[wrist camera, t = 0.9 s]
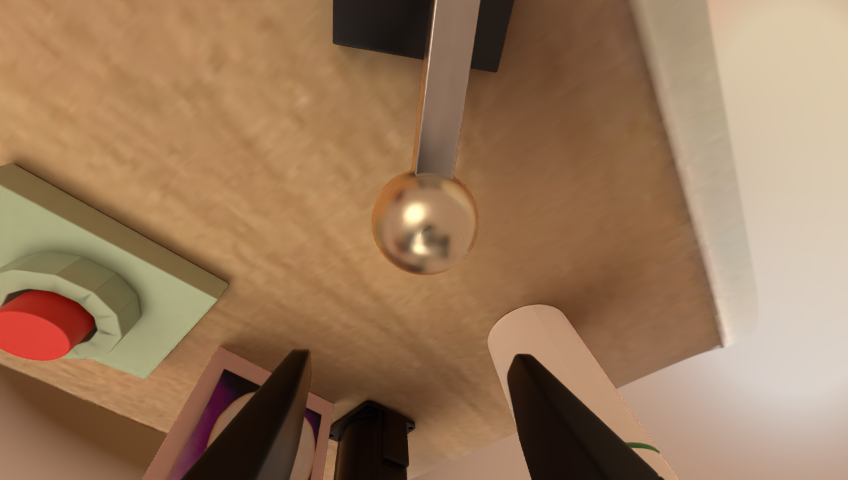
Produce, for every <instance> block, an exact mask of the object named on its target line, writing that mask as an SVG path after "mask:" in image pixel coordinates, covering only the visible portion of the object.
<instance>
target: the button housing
mask: <svg viewBox="0 0 848 480" xmlns="http://www.w3.org/2000/svg"><path fill="white" fill-rule="evenodd" d="M228 285H229V284H228V283H227V282H225V281H223V280H221V279H219V278H218V277H216V276H214V275H212V274H210V273H209V272H207V271H205V270H203V269H201V268H200V267H198V266H196V265H194V264H193V263H191V262H189V261H187V260H185V259H184V258H182V257H180V256H178V255H176V254H175V253H173V252H171V251H169V250H167V249H166V248H164V247H162V246H160V245H158V244H157V243H155V242H153V241H151V240H149V239H148V238H146V237H144V236H142V235H140V234H139V233H137V232H135V231H133V230H131V229H130V228H128V227H126V226H124V225H122V224H121V223H119V222H117V221H115V220H113V219H112V218H110V217H108V216H106V215H105V214H103V213H101V212H99V211H97V210H96V209H94V208H92V207H90V206H88V205H87V204H85V203H83V202H81V201H79V200H78V199H76V198H74V197H72V196H70V195H69V194H67V193H65V192H63V191H61V190H60V189H58V188H56V187H54V186H52V185H51V184H49V183H47V182H45V181H43V180H42V179H40V178H38V177H36V176H34V175H33V174H31V173H29V172H27V171H26V170H24V169H22V168H20V167H18V166H17V165H15V164H12V163H11V164H7V165H4V166H0V308H1V307H2V306H4V305H5V304H7V303H9V302H10V301H12V300H13V299H15V298H16V297H18V296H19V295H21V294H23V293H24V292H27V291H31V290H43V291H51V292H55V293H58V294H60V295H62V296H65V297H67V298H69V299H71V300H74V301H76V302H78V303H79V304H80V305H81V306H82V307H83V308H85V309H86V310H87V311H88V312H89V313H90V314H91V315H92V316H93V317H94V319H95V326H94V328H93V330H92V331H91V332H90V333H89V334H88V335H87V336H86V337H85V338H84V339H82V340H81V341H80V342H79V343H78V344H77V345H76V346H75V347H74V348H73V349H72V350H71V351H70V352H69V353H68V354H66V355H65V356H63V357H61V358H68V359H80V360H81V359H87V358H89V359H91V360H94V361H97V362H99V363H102V364H105V365H107V366H110V367H113V368H115V369H118V370H121V371H123V372H126V373H129V374H131V375H134V376H137V377H139V378H142V379H146V378H147V377H148V376H149V375H150V374H151V373H152V372H153V371H154V369H155V368H156V367H157V366H158V365H159V364H160V363H161V362H162V361H163V360H164V359H165V357H166V356H167V355H168V354H169V353H170V352H171V351H172V350H173V349H174V348H175V347H176V345H177V344H178V343H179V342H180V341H181V340H182V339H183V338H184V337H185V336H186V335H187V333H188V332H189V331H190V330H191V329H192V328H193V327H194V326H195V325H196V324H197V323H198V321H199V320H200V319H201V318H202V317H203V316H204V315H205V314H206V313H207V312H208V311H209V309H210V308H211V307H212V306H213V305H214V304H215V303H216V302H217V301H218V300H219V298H220V297H221V295H222V294H223V292H224V291H225V289H226V288H227V286H228Z"/></svg>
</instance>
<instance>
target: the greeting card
mask: <svg viewBox="0 0 848 480" xmlns="http://www.w3.org/2000/svg"><path fill="white" fill-rule="evenodd" d="M271 374H272V373H271V372H269V371H267V370H265V369H263V368H261V367H259V366H257V365H255V364H253V363H251V362H249V361H247V360H245V359H243V358H241V357H239V356H237V355H235V354H233V353H231V352H229V351H227V350H225V349H223V348H221V347H218V348H217V350H216V352H215V353H214V355H213V357H212V359H211V360H210V362H209V364H208V366H207V367H206V369H205V371H204V372H203V374H202V376H201V378H200V379H199V381H198V383H197V385H196V386H195V388H194V390H193V392H192V393H191V395H190V397H189V399H188V400H187V402H186V404H185V405H184V407H183V409H182V411H181V412H180V414H179V416H178V418H177V419H176V421H175V423H174V425H173V426H172V428H171V430H170V432H169V433H168V435H167V437H166V439H165V440H164V442H163V444H162V445H161V447H160V449H159V451H158V453H157V454H156V456H155V458H154V459H153V461H152V463H151V465H150V466H149V468H148V470H147V472H146V473H145V475H144V477H143V479H142V480H180V479H181V478H182V477H183V476H184V475H185V473H186V472H187V471H188V470H189V469H190V468H191V466H192V465H193V464H194V463H195V462H196V461H197V460H198V458H199V457H200V456H201V455H202V454H203V453H204V451H205V450H206V449H207V448H208V447H209V446H210V444H211V443H212V442H213V441H214V440H215V439H216V438H217V436H218V435H219V434H220V433H221V432H222V431H223V429H224V428H225V427H226V426H227V425H228V424H229V423H230V421H231V420H232V419H233V418H234V417H235V416H236V414H237V413H238V412H239V411H240V410H241V409H242V407H243V406H244V405H245V404H246V403H247V402H248V401H249V399H250V398H251V397H252V396H253V395H254V394H255V392H256V391H257V390H258V389H259V388H260V387H261V386H262V384H263V383H264V382H265V381H266V380H267V379H268V377H269V376H270V375H271ZM333 406H334V404H332V403H330V402H328V401H326V400H324V399H322V398H320V397H318V396H316V395H314V394H312V393H310V392H309V393H308V398H307V404H306V410H305V416H304V421H303V427H302V433H301V438H300V443H299V447H298V451H297V455H296V459H295V462H294V466H293V469H292V473H291V476H290V480H323V474H324V467H325V461H326V454H327V447H328V440H329V433H330V427H331V420H332V413H333Z"/></svg>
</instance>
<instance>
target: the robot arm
mask: <svg viewBox="0 0 848 480" xmlns="http://www.w3.org/2000/svg"><path fill="white" fill-rule="evenodd" d="M310 381H311V352H310V350H308V349H294V350H292V351H291V352H290V353H289V354H288V355H287V357H286V358H285V359H284V360H283V361H282V362H281V364H280V365H279V366H278V367H277V368H276V369H275V370H274V372H273V373H272V374H271V375H270V376H269V377H268V379H267V380H266V381H265V382H264V383H263V384H262V386H261V387H260V388H259V389H258V390H257V391H256V392H255V394H254V395H253V396H252V397H251V398H250V399H249V401H248V402H247V403H246V404H245V405H244V406H243V407H242V409H241V410H240V411H239V412H238V413H237V414H236V416H235V417H234V418H233V419H232V420H231V421H230V423H229V424H228V425H227V426H226V427H225V428H224V429H223V431H222V432H221V433H220V434H219V435H218V436H217V438H216V439H215V440H214V441H213V442H212V443H211V444H210V446H209V447H208V448H207V449H206V450H205V451H204V453H203V454H202V455H201V456H200V457H199V458H198V460H197V461H196V462H195V463H194V464H193V465H192V466H191V468H190V469H189V470H188V471H187V472H186V473H185V475H184V476H183V477H182V478H181V479H180V480H290V476H291V473H292V469H293V466H294V462H295V459H296V455H297V451H298V447H299V443H300V438H301V433H302V427H303V421H304V416H305V410H306V404H307V398H308V393H309V387H310ZM507 383H508V388H509V393H510V398H511V403H512V407H513V412H514V417H515V422H516V427H517V431H518V436H519V440H520V443H521V447H522V450H523V453H524V456H525V460H526V463H527V466H528V469H529V473H530V476H531V479H532V480H665V479H664V478H663V477H661V476H658V473H657V472H656V471H655V470H654V469H653V468H652V467H651V466H650V465H649V464H648V463H646V462H645V461H644V460H643V459H642V458H641V457H640V456H639V455H638V454H637V453H636V452H635V451H634V450H633V449H632V448H631V447H629V446H628V445H627V444H626V443H625V442H624V441H623V440H622V439H621V438H620V437H619V436H618V435H617V434H616V433H615V432H614V431H612V430H611V429H610V428H609V427H608V426H607V425H606V424H605V423H604V422H603V421H602V420H601V419H600V418H599V417H598V416H597V415H595V414H594V413H593V412H592V411H591V410H590V409H589V408H588V407H587V406H586V405H585V404H584V403H583V402H582V401H581V400H580V399H578V398H577V397H576V396H575V395H574V394H573V393H572V392H571V391H570V390H569V389H568V388H567V387H566V386H565V385H564V384H562V383H561V382H560V381H559V380H558V379H557V378H556V377H555V376H554V375H553V374H552V373H551V372H550V371H549V370H548V369H547V368H545V367H544V366H543V365H542V364H541V363H540V362H539V361H538V360H537V359H536V358H535V357H534V356H532V355H531V354H516V355H515V356H514V358H513V361H512V363H511V365H510V368H509V370H508V373H507ZM414 429H415V422H414V421H412V420H409V419H407V418H405V417H403V416H401V415H399V414H397V413H395V412H393V411H391V410H389V409H387V408H385V407H383V406H381V405H379V404H377V403H375V402H373V401H366V402H364V403H363V404H361V405H360V406H358V407H357V408H356V409H354V410H353V411H352V412H350V413H349V414H348V415H346V416H345V417H344V418H342V419H341V420H340V421H338V422H337V423H336V424H334V425H333V426H332V427H330V433H329V439H332V440H334V441H337V442H338V447H337V455H336V463H335V471H334V479H333V480H407V467H408V466H409V456H408V439H407V434H408V433H410V432H411V431H413V430H414Z"/></svg>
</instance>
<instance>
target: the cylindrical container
mask: <svg viewBox="0 0 848 480" xmlns="http://www.w3.org/2000/svg"><path fill="white" fill-rule="evenodd" d="M487 343H488V348H489V351H490V354H491V357H492V360H493V362H494V365H495V368H496V371H497V374H498V377H499V380H500V382H501V385H502V388H503V391H504V394H505V397H506V399H507V402H508V405H509V408H510V411H511V414H512V416H513V419H514V422H515V417H514V412H513V407H512V403H511V398H510V393H509V388H508V383H507V373H508V370H509V368H510V365H511V363H512V361H513V358H514V356H515V355H516V354H531V355H532V356H534V357H535V358H536V359H537V360H538V361H539V362H540V363H541V364H542V365H543V366H544V367H545V368H547V369H548V370H549V371H550V372H551V373H552V374H553V375H554V376H555V377H556V378H557V379H558V380H559V381H560V382H561V383H562V384H564V385H565V386H566V387H567V388H568V389H569V390H570V391H571V392H572V393H573V394H574V395H575V396H576V397H577V398H578V399H580V400H581V401H582V402H583V403H584V404H585V405H586V406H587V407H588V408H589V409H590V410H591V411H592V412H593V413H594V414H595V415H597V416H598V417H599V418H600V419H601V420H602V421H603V422H604V423H605V424H606V425H607V426H608V427H609V428H610V429H611V430H612V431H614V432H615V433H616V434H617V435H618V436H619V437H620V438H621V439H622V440H623V441H624V442H625V443H626V444H627V445H628V446H629V447H631V448H632V449H633V450H634V451H635V452H636V453H637V454H638V455H639V456H640V457H641V458H642V459H643V460H644V461H645V462H646V463H648V464H649V465H650V466H651V467H652V468H653V469H654V470H655V471H656V472H657V473H658V476H661V477H663V478H664V479H665V480H679V479H678V478H677V477H676V475H675V474H674V472H673V471H672V469H671V468H670V466H669V465H668V464H667V462H666V461H665V459H664V458H663V457H662V456H661V455H660V452H659V451H658V449H657V448H656V446H655V445H654V444H653V442H652V441H651V439H650V438H649V436H648V435H647V433H646V432H645V430H644V429H643V427H642V426H641V425H640V423H639V422H638V420H637V419H636V418H635V416H634V415H633V413H632V412H631V410H630V409H629V408H628V406H627V404H626V403H625V402H624V400H623V399H622V397H621V396H620V394H619V393H618V392H617V390H616V389H615V387H614V386H613V384H612V383H611V381H610V380H609V378H608V377H607V376H606V374H605V373H604V371H603V370H602V368H601V367H600V365H599V364H598V363H597V361H596V360H595V358H594V357H593V355H592V354H591V353H590V351H589V350H588V348H587V347H586V345H585V344H584V342H583V341H582V340H581V338H580V337H579V335H578V334H577V332H576V331H575V329H574V328H573V327H572V325H571V324H570V322H569V321H568V319H567V318H566V316H565V315H564V314H563V313H562V312H561V311H560V310H558V309H557V308H555V307H552V306H548V305H540V304H537V305H528V306H524V307H521V308H518V309H515V310H513V311H511V312H509V313H508V314H506V315H505V316H503V317H502V318H501V319H499V320H498V322H497V323H496V324H495V325H494V326H493V328H492V329H491V331H490V333H489V336H488V342H487ZM515 425H516V422H515ZM516 428H517V427H516Z"/></svg>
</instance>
